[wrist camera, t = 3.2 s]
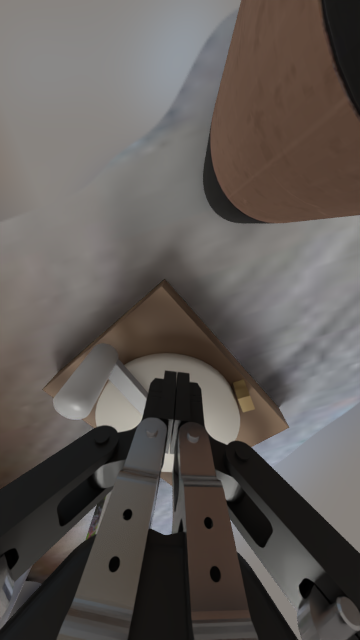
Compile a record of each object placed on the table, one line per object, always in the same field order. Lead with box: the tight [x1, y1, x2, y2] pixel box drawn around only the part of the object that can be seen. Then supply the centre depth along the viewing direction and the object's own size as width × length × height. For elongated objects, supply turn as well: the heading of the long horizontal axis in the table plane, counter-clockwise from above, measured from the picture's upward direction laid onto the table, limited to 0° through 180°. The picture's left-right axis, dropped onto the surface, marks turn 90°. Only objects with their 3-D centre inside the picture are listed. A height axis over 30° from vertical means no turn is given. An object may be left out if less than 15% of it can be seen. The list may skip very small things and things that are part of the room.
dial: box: [53, 343, 240, 472], centre depth 20 cm, size 19×15×8 cm
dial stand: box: [43, 279, 289, 485], centre depth 25 cm, size 18×22×5 cm
